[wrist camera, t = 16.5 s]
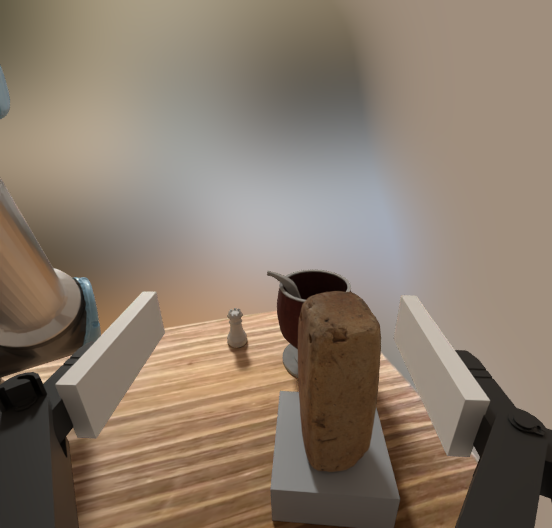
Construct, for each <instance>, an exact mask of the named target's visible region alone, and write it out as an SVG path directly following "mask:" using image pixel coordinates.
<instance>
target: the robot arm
mask: <svg viewBox="0 0 552 528" xmlns="http://www.w3.org/2000/svg"><path fill="white" fill-rule="evenodd" d="M9 109H10V97H9V92H8V88H7V84H6V81H5V77H4V74H3V71H2V68H1V66H0V119H2V118H3V117H5V116H6V115H7V113H8V112H9ZM98 320H99V319H98V312H97V307H96V302H95V298H94V294H93V290H92V286H91V283H90V282H89V280H88V279H87V278H84V277H82V278H77V277H75V278H71V277H70V276H69V275H67V274H66V273H64V272H62V271H60V270H57V269H54V268H53V267H52V265H51V264H50V262H49V260H48V259H47V257H46V255H45V253H44V252H43V250H42V248H41V247H40V245H39V243H38V241H37V240H36V238H35V236H34V234H33V233H32V231H31V229H30V227H29V226H28V224H27V222H26V221H25V219H24V217H23V215H22V214H21V212H20V210H19V208H18V207H17V205H16V203H15V202H14V200H13V198H12V196H11V195H10V193H9V191H8V190H7V188H6V186H5V184H4V182H3V181H2V179H1V177H0V528H79V525H78V517H77V508H76V500H75V491H74V483H73V474H72V466H71V457H70V449H69V441H68V439H67V437H66V436H67V434H68V433H69V432H70V430H71V429H72V428H74V430H75V433H76V435H77V438H97V437H98V435H99V434H100V432H101V430H102V429H103V427H104V426H105V424H106V423H107V421H108V420H109V418H110V417H111V415H112V414H113V412H114V410H115V409H116V407H117V406H118V404H119V403H120V401H121V400H122V398H123V397H124V395H125V394H126V392H127V390H128V389H129V387H130V386H131V384H132V383H133V381H134V380H135V378H136V377H137V375H138V374H139V372H140V370H141V369H142V367H143V366H144V364H145V363H146V361H147V360H148V358H149V357H150V355H151V354H152V352H153V350H154V349H155V347H156V346H157V344H158V343H159V341H160V340H161V338H162V337H163V335H164V334H165V331H164V326H163V322H162V317H161V312H160V307H159V302H158V298H157V293H156V292H142V293H141V294H140V295H139V296H138V297H137V298H136V299H135V301H134V302H133V303H132V304H131V305H130V306H129V307H128V308H127V309H126V310H125V311H124V312H123V313H122V314H121V315H120V316H119V317H118V318H117V320H116V321H115V322H114V323H113V324H112V325H111V326H110V327H109V328H108V329H107V330H106V331H105V332H104V333H103V334H102V335H101V331H100V324H99V321H98ZM394 340H395V342H396V345H397V347H398V349H399V351H400V353H401V355H402V358H403V360H404V362H405V364H406V366H407V369H408V371H409V373H410V375H411V377H412V380H413V382H414V384H415V386H416V389H417V391H418V393H419V395H420V397H421V399H422V402H423V404H424V406H425V408H426V410H427V413H428V415H429V417H430V419H431V421H432V424H433V426H434V428H435V430H436V432H437V435H438V437H439V439H440V441H441V443H442V446H443V448H444V450H445V452H446V454H447V456H459V457H470V454H471V452H472V449H473V446H474V447H475V449H476V451H477V452H478V454H479V456H480V459H479V461H478V464H477V467H476V469H475V472H474V474H473V478H472V481H471V484H470V487H469V489H468V492H467V495H466V498H465V501H464V504H463V506H462V509H461V512H460V515H459V518H458V520H457V523H456V526H455V528H534V526H535V520H536V513H537V508H538V501H539V495H542V496H545V497H548V498H550V499H551V501H552V430H550V429H547V428H545V426H544V425H543V423H542V422H540V421H539V420H538V419H537V418H536V417H535V416H533V415H531V414H530V413H528V412H526V411H523V410H521V409H518V408H516V407H515V406H514V404H513V403H512V402H511V400H510V399H509V398H508V397H507V395H506V394H505V393H504V392H503V390H502V389H501V388H500V387H499V385H498V384H497V383H496V381H495V380H494V379H492V376H491V375H490V374H489V372H488V371H486V369H485V367H484V366H483V365H482V363H481V362H480V361H479V360H478V359H477V358H476V357H475V356H473V355H472V354H471V353H469V352H468V351H462V350H454V349H453V347H452V346H451V344H450V343H449V342H448V340H447V339H446V337H445V336H444V335H443V333H442V332H441V330H440V329H439V327H438V326H437V325H436V323H435V322H434V320H433V319H432V318H431V316H430V315H429V313H428V312H427V310H426V309H425V308H424V306H423V305H422V303H421V302H420V300H419V299H418V298H417V296H401V299H400V305H399V310H398V316H397V323H396V328H395V334H394ZM70 355H72V356H71V357H70V359H68V360H67V361H66V362H65V363H64V365H63V366H61V367H60V368H59V369H58V370H57V371H56V372H55V373H54V374H53V375H52V376H51V377H50V378H49V379H48V380H47V381H46V382H45V383H44V384H43V383H42V381H41V379H40V377H39V375H38V374H37V373H34V372H30V373H23V374H19V375H16V376H14V377H12V378H10V379H8V380H6V381H4V380H2V378H1V377H4V376H7V375H10V374H13V373H17V372H20V371H23V370H26V369H29V368H32V367H36V366H39V365H42V364H45V363H48V362H51V361H55V360H58V359H61V358H64V357H67V356H70Z"/></svg>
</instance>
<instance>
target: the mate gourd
mask: <svg viewBox="0 0 552 528" xmlns="http://www.w3.org/2000/svg"><path fill="white" fill-rule="evenodd" d="M267 275H268V276H272V277H274V278H276V279H277V280H278V281H280V288H279V293H278V300H277V315H278V320H279V325H280V329H281V332H282V334H283V336H284V338H285V339H286V340H287V341H288V342H289V343H290V344H289V345H288V346H287V347H286V348H285V350H284V352H283V364H284V366H285V368H286V369H287V371H288V372H289V373H291V374H292V375H293V376H295V377H297V378H298V325H299V317H300V313H301V308H302V305H303V303H304V302H305V301H306V300H307V299H308V298H309V297H311V296H313V295H316V294H320V293H325V292H332V291H341V292H351V285H350V283H349V281H348V280H347V279H346V278H344V277H342V276H341V275H339V274H336V273H333V272H329V271H324V270H303V271H297V272H293V273H291V274H288V275H287V276H284V275H281V274H278V273H275V272H271V271H268V272H267Z"/></svg>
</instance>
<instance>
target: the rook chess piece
mask: <svg viewBox="0 0 552 528" xmlns="http://www.w3.org/2000/svg"><path fill="white" fill-rule="evenodd" d="M242 316H243V314H242V313H241V311H240V309H238V310H236V308H234V310H233V311H232V309H231V310H230V311H229V314H228V315H227V317H228V318H229V319H230V321H229V323H230V332H229V334H228V337H227V339H228V341H227V342H228V344H229V345H230V346H231V347H235V348H239V347H242V346H243V345H245V344H246V342H247V335H246V333H245V331H244V330H243V328H242V324H241V322H242V319H241V317H242Z"/></svg>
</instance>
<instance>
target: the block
mask: <svg viewBox="0 0 552 528" xmlns="http://www.w3.org/2000/svg"><path fill="white" fill-rule="evenodd" d="M380 354H381V334H380V325H379V322H378V321H377V319H376V317H375V316H374V315H373V313H372V312H371V310H370V309H369V307H368V306H367V304H366V303H365V302H364V301H363V299H361V298H360V297H359V296H357V295H356V294H354V293H352V292H341V291H332V292H325V293H320V294H316V295H313V296H311V297H309V298H308V299H307V300H306V301H305V302H304V303H303V305H302V308H301V313H300V317H299V325H298V381H299V401H300V417H301V428H302V436H303V442H304V448H305V452H306V455H307V458H308V461H309V463H310V464H311V466H312V467H313V468H314V469H316V470H318V471H328V472H337V471H343V470H348V469H349V468H350V467H353V466H354V465H355V464H356V463H357V461H358V460H359V459H361V458H362V457H363V456H364V453H365V452H367V451H368V449H369V447H370V442H371V437H372V430H373V425H374V418H375V411H376V403H377V393H378V382H379V368H380Z"/></svg>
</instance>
